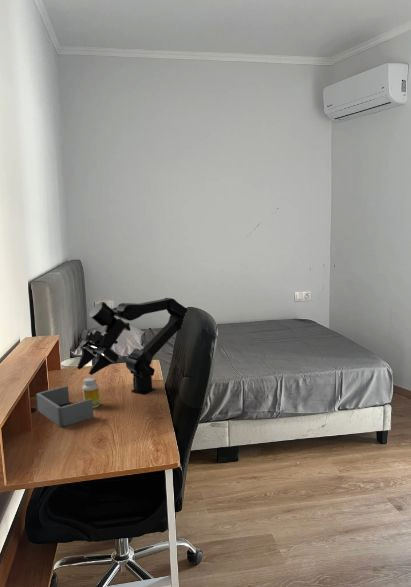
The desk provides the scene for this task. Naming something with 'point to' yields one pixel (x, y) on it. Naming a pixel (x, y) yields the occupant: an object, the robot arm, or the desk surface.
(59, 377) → the desk surface
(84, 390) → the supplement bottle
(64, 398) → the open side box
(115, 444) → the desk surface
